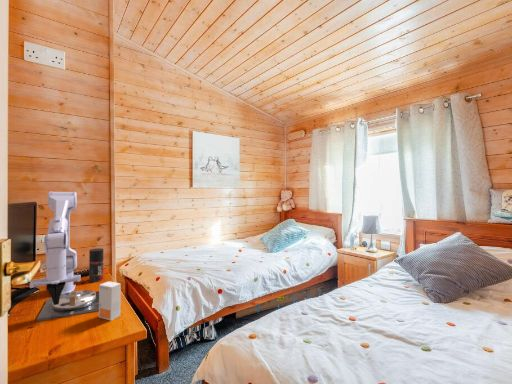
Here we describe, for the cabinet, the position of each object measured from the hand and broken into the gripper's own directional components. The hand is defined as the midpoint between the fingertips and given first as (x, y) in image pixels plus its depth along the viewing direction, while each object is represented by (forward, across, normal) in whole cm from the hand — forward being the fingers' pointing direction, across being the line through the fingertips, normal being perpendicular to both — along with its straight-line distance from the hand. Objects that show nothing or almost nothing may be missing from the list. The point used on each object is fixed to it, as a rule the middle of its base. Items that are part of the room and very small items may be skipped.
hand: (56, 303), depth 97 cm
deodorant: (+4, +12, +34) cm, 36 cm away
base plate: (+4, +5, +6) cm, 9 cm away
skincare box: (+4, +17, -10) cm, 20 cm away
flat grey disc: (+3, +5, +6) cm, 8 cm away
